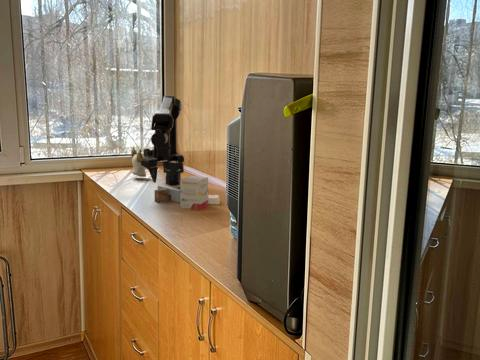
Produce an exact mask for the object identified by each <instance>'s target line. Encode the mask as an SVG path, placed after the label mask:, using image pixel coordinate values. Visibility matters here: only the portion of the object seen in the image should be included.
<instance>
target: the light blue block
mask: <svg viewBox="0 0 480 360" xmlns="http://www.w3.org/2000/svg"><path fill="white" fill-rule="evenodd" d="M172 187H173V186H169V185H166V184H165V185H163V184H160V185H157V190H158V189H163V188H165V189H168V194H169V195H171V200H170V201H171V202H176V203H181V200H180V189H176V188H172Z"/></svg>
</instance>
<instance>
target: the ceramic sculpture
mask: <svg viewBox="0 0 480 360" xmlns="http://www.w3.org/2000/svg"><path fill="white" fill-rule="evenodd" d="M130 155H131V163H132V167H133V168H132V170H131V173H132V175H134V176H137V177H140V178H143V177H144V178H146V177H147V172H146V169H147V168H145V167H144V166H141V160H142V159H144V158H148V157H144V153H142V149H141V148H140V149H139V150H138V152H137V150H136V149H135V146H132V149H131V153H130Z"/></svg>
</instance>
